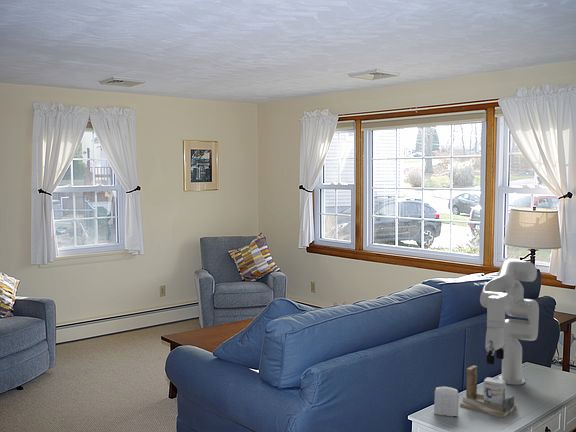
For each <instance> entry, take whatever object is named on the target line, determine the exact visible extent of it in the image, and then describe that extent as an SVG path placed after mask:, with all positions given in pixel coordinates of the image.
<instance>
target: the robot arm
mask: <svg viewBox="0 0 576 432" xmlns="http://www.w3.org/2000/svg"><path fill="white" fill-rule="evenodd" d="M537 275H538V270H537V267H536V265H535V264H534V263H532V262H531V261H529V260H520V259H506V260H504V261H502V263H501V265H500V266H499V271H498V273H497V277H494V278H493V279H491V280H489V281H488V282H486V283H485V284H484V286H483V288H482V290H481V293H480V296H479V303H480V305H481V306H482V307H483V308H486V310H487V311H486V313H487V314H486V315H487V316H486V333H485V346H484V348H485V351H486V352H485V353H486V363H487V364H489V365H493V366H494V365H495V353H496V359H500V360H501V375H499V376H498V378H497V379H501V380H504V381H505V385H510V386H511V385H512V386H513V385H514V386H519V385H520V386H521V385H523V384H524V383H526V380H525V378H524V377H522V375H523V373H524V370H523V368H522V367H523V346H522V344H521V342H520V341H519V340H521V341H531V342H532V341H536V340H537V338H538V337H539V336H538V335H539V322H540V321H539V319H540V317H539V315H540V307H539V303H538V301H537V300H535V299H530V298H524V292H525V288H524V286H523V284H522V283H521V282H535V280H536V279H537V277H538V276H537ZM506 315H507V316H509V317H516V318H523V319H513V318H507V319H506ZM524 319H527V320H524ZM495 351H496V352H495Z"/></svg>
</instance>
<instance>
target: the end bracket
mask: <svg viewBox="0 0 576 432" xmlns="http://www.w3.org/2000/svg"><path fill="white" fill-rule="evenodd" d="M477 393H478V365H471V366H469V367H467V368H466V396H465V397H469V398H472V399H476V398H477Z"/></svg>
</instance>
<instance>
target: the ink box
mask: <svg viewBox="0 0 576 432" xmlns="http://www.w3.org/2000/svg"><path fill="white" fill-rule="evenodd" d="M483 394H484V402H487V403H491V404H495V405H499V406H502V407H503V401H504V400H505V399H506V384H505V381H504V380H501V379H498V378H495V377H488V376H487V377H485V378H484V380H483Z"/></svg>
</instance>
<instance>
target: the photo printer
mask: <svg viewBox="0 0 576 432" xmlns="http://www.w3.org/2000/svg"><path fill="white" fill-rule="evenodd" d="M459 398H460V396H459V391H458V389H456V388H454V387H450V386H438V387H435V390H434V401H433V402H434V404H433V406H434V408H433V409H434V412H433V413H434V414H435V415H438V416H445V415H446V416H447V417H453V416H457V417H459ZM446 416H445V417H446Z"/></svg>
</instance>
